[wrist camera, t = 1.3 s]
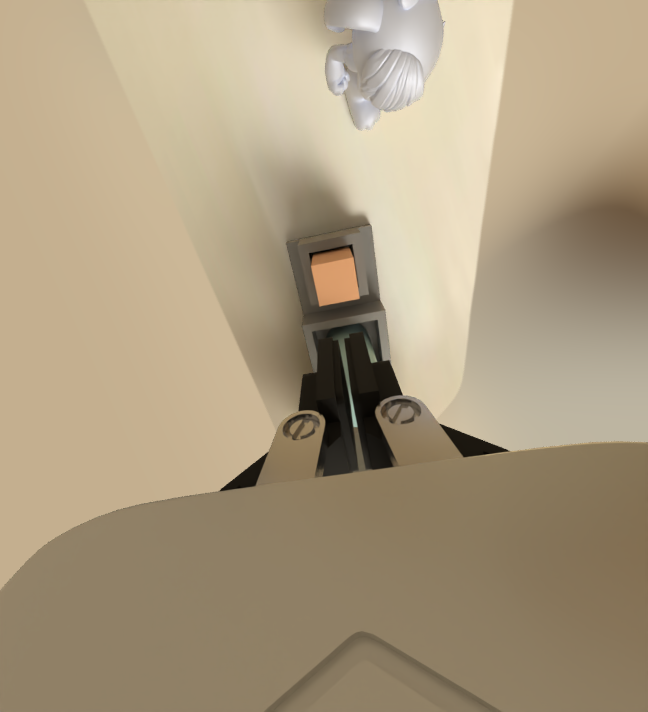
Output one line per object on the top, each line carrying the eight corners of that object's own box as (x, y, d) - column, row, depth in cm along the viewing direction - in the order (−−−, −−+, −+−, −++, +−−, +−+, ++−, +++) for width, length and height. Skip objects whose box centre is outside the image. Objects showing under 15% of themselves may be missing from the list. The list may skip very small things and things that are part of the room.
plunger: (354, 282, 29) (359, 298, 24) (320, 288, 29) (319, 306, 24) (348, 246, 27) (353, 257, 23) (313, 253, 27) (310, 266, 23)
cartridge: (372, 356, 35) (391, 422, 25) (330, 364, 35) (332, 431, 25) (366, 317, 32) (385, 372, 23) (321, 325, 33) (320, 382, 23)
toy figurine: (356, 154, 26) (377, 130, 16) (312, 73, 24) (303, -19, 13) (430, 96, 25) (509, 25, 14) (391, 2, 22) (452, -171, 12)
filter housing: (386, 362, 36) (393, 381, 33) (319, 373, 37) (318, 393, 33) (369, 224, 29) (376, 228, 26) (287, 241, 30) (282, 248, 26)
